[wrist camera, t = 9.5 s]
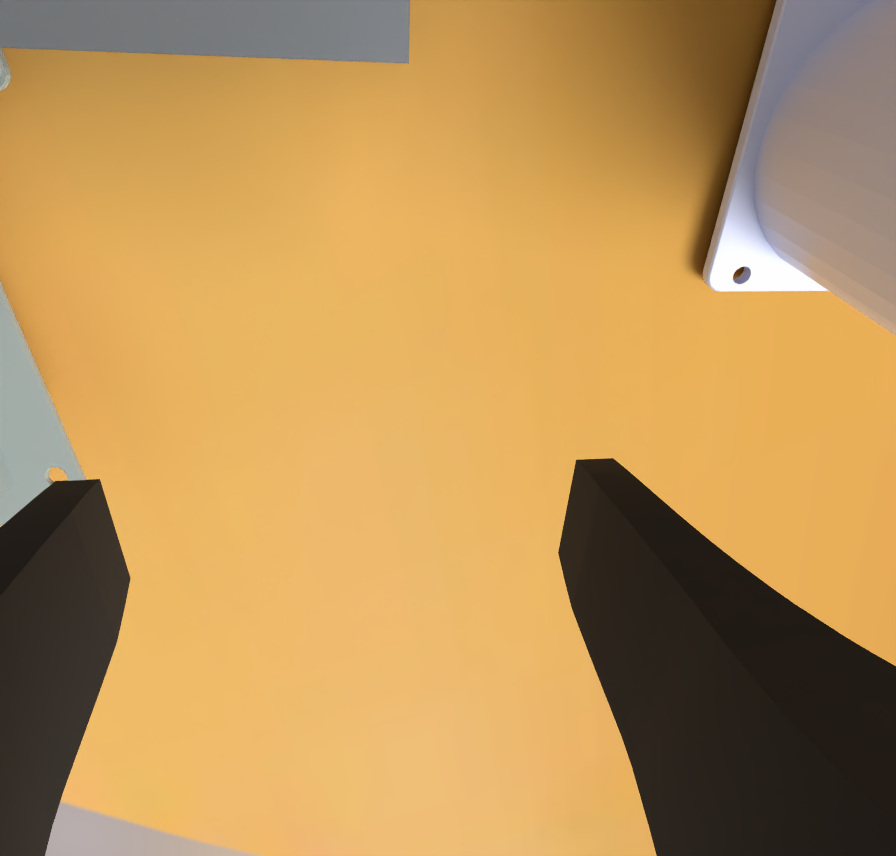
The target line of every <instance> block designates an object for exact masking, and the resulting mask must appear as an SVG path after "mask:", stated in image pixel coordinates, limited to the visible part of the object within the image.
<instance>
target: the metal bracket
mask: <svg viewBox="0 0 896 856" xmlns="http://www.w3.org/2000/svg"><path fill="white" fill-rule="evenodd" d="M10 78H11V73H10V69H9V66H8V63H7V61H6V58H5V56H4V53H3V50H2V48H0V91H1V90H3V89H5V88H6V87H7V86H8V84H9V83H10ZM52 467H58V468H60V469H62V470H64V472H65V473H66V474H67V479H68V480H67V481H72V480H86V478H85V475H84V473H83V471H82V469H81V466H80V464H79V462H78V459H77V457H76V455H75V452H74V450H73V448H72V446H71V443H70V441H69V439H68V436H67V434H66V432H65V429H64V427H63V425H62V422H61V420H60V418H59V416H58V413H57V411H56V409H55V406H54V404H53V402H52V399H51V397H50V395H49V393H48V390H47V388H46V386H45V383H44V381H43V379H42V376H41V374H40V372H39V370H38V367H37V365H36V363H35V360H34V358H33V356H32V353H31V351H30V349H29V346H28V344H27V342H26V340H25V337H24V335H23V333H22V330H21V328H20V326H19V323H18V321H17V319H16V317H15V314H14V312H13V310H12V307H11V305H10V303H9V300H8V298H7V296H6V294H5V291H4V289H3V287H2V284H1V282H0V526H1V525H4V524H5V523H6V522H7V521H8V520H9V519H11V518H12V517H13V516H14V515H15V514H16V513H18V512H19V511H20V510H21V509H22V508H23V507H25V506H26V505H27V504H28V503H29V502H30V501H32V500H33V499H34V498H35V497H36V496H38V495H39V494H40V493H41V492H42V491H44V490H45V489H46V488H47V487H49V486H50V485H51V484H52V483H54V482H53V481H52V480H51V478H50V477H49V470H50V468H52Z"/></svg>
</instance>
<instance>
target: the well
mask: <svg viewBox="0 0 896 856" xmlns="http://www.w3.org/2000/svg"><path fill="white" fill-rule="evenodd" d="M409 9H410V0H0V48H23V49H49V50H75V51H101V52H127V53H152V54H178V55H204V56H230V57H256V58H282V59H307V60H333V61H359V62H385V63H409Z"/></svg>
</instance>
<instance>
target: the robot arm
mask: <svg viewBox="0 0 896 856" xmlns="http://www.w3.org/2000/svg"><path fill="white" fill-rule="evenodd" d="M740 267H744V271H743V273H742V275H740V276H739V277H738V278H735V279H733V275H734V273H735V271H736V270H737V269H739V268H740ZM703 280H704V282H705V283H706V284H707V285H708V286H709V287H710V288H711V289H713V290H714V291H719V292H732V291H830V292H831V293H833V294H834V295H836V296H837V297H839V298H840V299H842V300H843V301H845V302H846V303H848V304H849V305H851V306H852V307H853V308H855V309H856V310H858V311H859V312H861V313H862V314H864V315H865V316H867V317H868V318H870V319H871V320H873V321H874V322H876V323H877V324H879V325H880V326H882V327H883V328H885V329H886V330H888V331H889V332H891V333H892V334H894V335H895V336H896V0H777V1H776V4H775V8H774V12H773V16H772V19H771V23H770V27H769V30H768V34H767V38H766V41H765V45H764V49H763V52H762V56H761V60H760V63H759V67H758V71H757V74H756V78H755V82H754V85H753V89H752V93H751V97H750V100H749V104H748V108H747V111H746V115H745V119H744V122H743V126H742V130H741V133H740V137H739V141H738V144H737V148H736V152H735V155H734V159H733V163H732V166H731V170H730V174H729V177H728V181H727V185H726V189H725V192H724V196H723V200H722V203H721V207H720V211H719V214H718V218H717V222H716V225H715V229H714V233H713V236H712V240H711V244H710V247H709V251H708V255H707V258H706V262H705V266H704V270H703ZM558 553H559V558H560V562H561V566H562V570H563V575H564V579H565V583H566V587H567V591H568V595H569V599H570V602H571V606H572V610H573V612H574V615H575V618H576V620H577V623H578V626H579V628H580V631H581V634H582V636H583V639H584V641H585V644H586V647H587V649H588V652H589V654H590V657H591V659H592V662H593V665H594V667H595V670H596V672H597V675H598V677H599V680H600V682H601V685H602V687H603V690H604V693H605V695H606V698H607V700H608V703H609V705H610V708H611V710H612V713H613V716H614V718H615V721H616V723H617V726H618V728H619V731H620V733H621V736H622V739H623V742H624V745H625V747H626V750H627V753H628V756H629V759H630V762H631V765H632V768H633V772H634V775H635V779H636V782H637V786H638V789H639V793H640V796H641V800H642V803H643V807H644V810H645V814H646V817H647V821H648V824H649V828H650V832H651V835H652V839H653V843H654V847H655V851H656V854H657V856H896V666H894V665H892V664H891V663H889V662H887V661H885V660H884V659H882V658H880V657H878V656H877V655H875V654H873V653H871V652H870V651H868V650H866V649H865V648H863V647H861V646H860V645H858V644H856V643H855V642H853V641H851V640H850V639H848V638H846V637H845V636H843V635H841V634H840V633H838V632H837V631H835V630H834V629H832V628H831V627H829V626H828V625H826V624H824V623H823V622H821V621H820V620H818V619H817V618H815V617H814V616H812V615H811V614H809V613H808V612H806V611H804V610H803V609H801V608H800V607H798V606H797V605H795V604H794V603H792V602H791V601H789V600H788V599H787V598H785V597H784V596H782V595H781V594H779V593H778V592H777V591H775V590H774V589H772V588H771V587H770V586H768V585H767V584H766V583H764V582H763V581H762V580H760V579H759V578H758V577H756V576H755V575H754V574H752V573H751V572H750V571H748V570H747V569H745V568H744V567H743V566H741V565H740V564H739V563H737V562H736V561H735V560H734V559H732V558H731V557H730V556H728V555H727V554H726V553H725V552H723V551H722V550H721V549H720V548H718V547H717V546H716V545H715V544H713V543H712V542H711V541H710V540H708V539H707V538H706V537H705V536H704V535H702V534H701V533H700V532H699V531H698V530H696V529H695V528H694V527H693V526H691V525H690V524H689V523H688V522H687V521H686V520H684V519H683V518H682V517H681V516H680V515H678V514H677V513H676V512H675V511H674V510H673V509H671V508H670V507H669V506H668V505H667V504H666V503H665V502H663V501H662V500H661V499H660V498H659V497H658V496H656V495H655V494H654V493H653V492H652V491H651V490H650V489H648V488H647V487H646V486H645V485H644V484H643V483H642V482H640V481H639V480H638V479H637V478H636V477H635V476H633V475H632V474H631V473H630V472H629V471H628V470H626V469H625V468H624V467H623V466H622V465H620V464H619V463H618V462H617V461H615V460H614V459H613V458H611V459H587V460H576V464H575V469H574V474H573V480H572V485H571V490H570V495H569V500H568V505H567V511H566V516H565V521H564V526H563V531H562V537H561V542H560V547H559V552H558ZM129 582H130V576H129V572H128V569H127V566H126V563H125V559H124V556H123V553H122V550H121V546H120V543H119V540H118V537H117V534H116V530H115V527H114V524H113V521H112V517H111V514H110V511H109V508H108V504H107V501H106V498H105V495H104V492H103V488H102V485H101V482H100V479H96V480H72V481H55V482H54V483H52V484H51V485H50V486H49V487H47V488H46V489H45V490H44V491H42V492H41V493H40V494H39V495H38V496H36V497H35V498H34V499H33V500H32V501H30V502H29V503H28V504H27V505H26V506H25V507H23V508H22V509H21V510H20V511H19V512H18V513H16V514H15V515H14V516H13V517H12V518H11V519H9V520H8V521H7V522H6V523H5V524H4V525H3V526H1V527H0V856H45V852H46V849H47V844H48V841H49V837H50V833H51V829H52V825H53V822H54V819H55V816H56V813H57V809H58V806H59V803H60V800H61V797H62V794H63V791H64V788H65V785H66V782H67V779H68V777H69V774H70V771H71V768H72V766H73V763H74V760H75V757H76V755H77V752H78V749H79V746H80V744H81V741H82V738H83V735H84V733H85V730H86V727H87V724H88V722H89V719H90V716H91V713H92V711H93V708H94V705H95V702H96V700H97V697H98V694H99V691H100V688H101V686H102V683H103V680H104V677H105V674H106V671H107V669H108V666H109V663H110V660H111V657H112V654H113V651H114V649H115V646H116V643H117V639H118V635H119V630H120V626H121V621H122V617H123V613H124V608H125V603H126V598H127V593H128V588H129Z"/></svg>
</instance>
